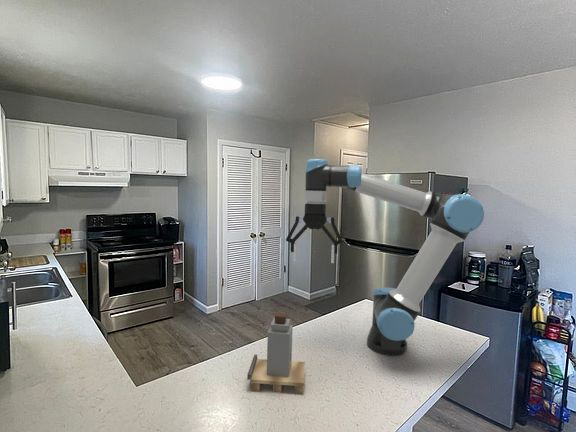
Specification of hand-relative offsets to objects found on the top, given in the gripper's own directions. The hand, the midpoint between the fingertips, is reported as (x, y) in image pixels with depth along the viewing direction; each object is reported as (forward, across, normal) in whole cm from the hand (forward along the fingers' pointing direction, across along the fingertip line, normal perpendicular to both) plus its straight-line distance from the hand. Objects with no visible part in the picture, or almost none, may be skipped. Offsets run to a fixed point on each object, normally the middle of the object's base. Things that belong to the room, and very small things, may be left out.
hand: (313, 261), depth 117 cm
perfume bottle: (+31, +10, +18) cm, 38 cm away
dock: (+35, +10, +18) cm, 40 cm away
